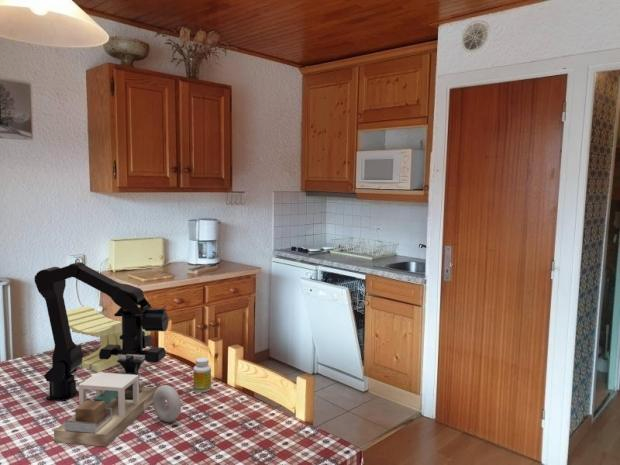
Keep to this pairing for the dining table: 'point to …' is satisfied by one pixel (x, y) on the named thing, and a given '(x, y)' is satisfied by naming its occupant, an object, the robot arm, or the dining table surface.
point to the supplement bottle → (202, 375)
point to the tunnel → (111, 387)
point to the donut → (172, 399)
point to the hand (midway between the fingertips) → (133, 380)
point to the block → (90, 411)
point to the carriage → (106, 397)
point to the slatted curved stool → (97, 334)
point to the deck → (113, 425)
